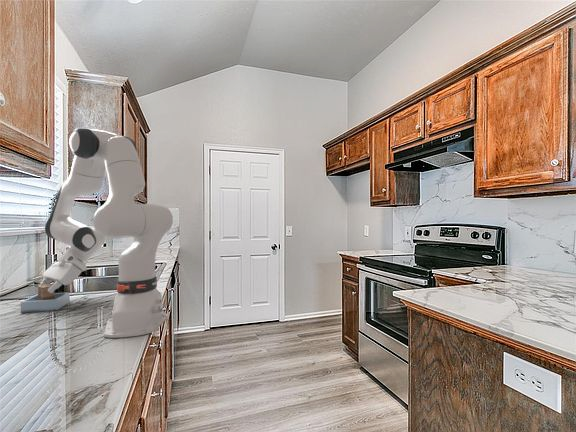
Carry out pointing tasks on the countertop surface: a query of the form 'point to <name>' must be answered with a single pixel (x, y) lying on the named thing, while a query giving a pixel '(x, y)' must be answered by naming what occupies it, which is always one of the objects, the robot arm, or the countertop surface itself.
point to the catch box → (44, 303)
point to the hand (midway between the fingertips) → (44, 290)
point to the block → (45, 293)
